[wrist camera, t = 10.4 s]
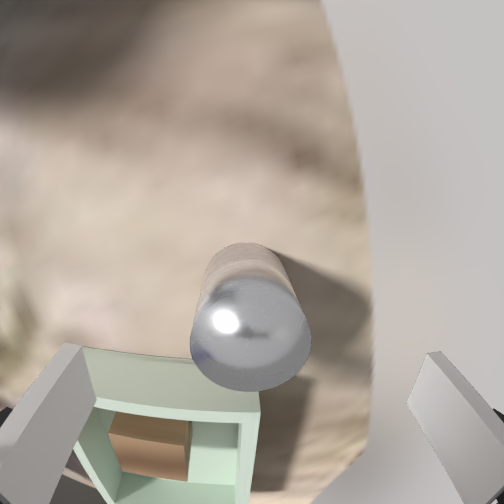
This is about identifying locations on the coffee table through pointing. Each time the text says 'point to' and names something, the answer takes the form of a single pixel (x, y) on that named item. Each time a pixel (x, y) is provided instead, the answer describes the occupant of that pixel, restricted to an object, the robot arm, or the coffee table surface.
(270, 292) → the canister
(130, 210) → the coffee table surface
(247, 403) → the tote
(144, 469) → the walnut block
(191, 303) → the coffee table surface
